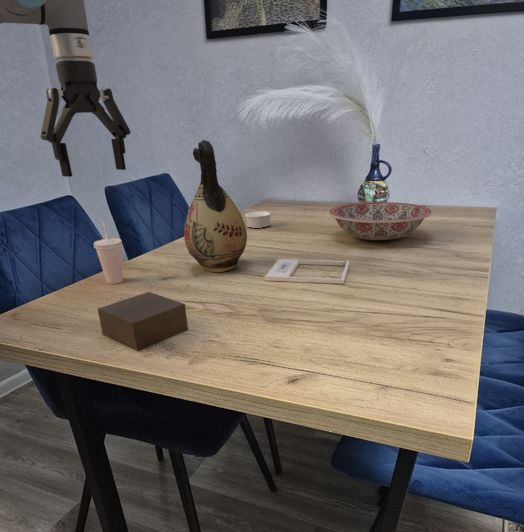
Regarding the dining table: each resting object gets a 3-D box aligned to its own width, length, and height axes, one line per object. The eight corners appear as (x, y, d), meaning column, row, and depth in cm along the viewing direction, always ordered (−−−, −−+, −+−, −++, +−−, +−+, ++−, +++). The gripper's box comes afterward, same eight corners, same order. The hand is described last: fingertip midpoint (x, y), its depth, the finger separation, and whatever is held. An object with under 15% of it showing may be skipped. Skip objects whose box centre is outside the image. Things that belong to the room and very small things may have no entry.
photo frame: (278, 258, 121) (349, 260, 117) (279, 262, 121) (349, 264, 117) (264, 275, 108) (343, 278, 104) (265, 280, 109) (343, 283, 105)
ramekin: (245, 229, 158) (244, 216, 156) (246, 224, 166) (245, 211, 164) (271, 228, 158) (271, 215, 156) (271, 223, 166) (270, 210, 164)
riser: (102, 334, 86) (97, 308, 83) (152, 315, 93) (148, 291, 90) (137, 350, 79) (132, 323, 77) (188, 329, 86) (185, 303, 84)
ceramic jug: (184, 262, 125) (170, 139, 112) (241, 256, 128) (234, 136, 115) (192, 281, 111) (177, 142, 97) (256, 274, 114) (249, 138, 100)
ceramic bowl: (335, 226, 157) (336, 201, 153) (427, 228, 150) (430, 202, 146) (321, 249, 132) (321, 220, 129) (430, 252, 125) (434, 221, 121)
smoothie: (127, 276, 117) (117, 218, 111) (129, 283, 111) (119, 223, 105) (100, 279, 115) (89, 221, 109) (101, 287, 110) (89, 226, 103)
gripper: (23, 55, 85) (51, 180, 94) (136, 62, 102) (150, 167, 111) (4, 60, 89) (33, 178, 98) (115, 65, 106) (131, 166, 115)
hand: (95, 172), depth 105 cm, fingers open, 13 cm apart
